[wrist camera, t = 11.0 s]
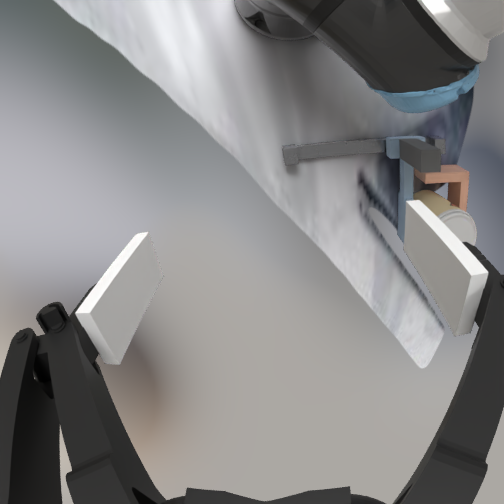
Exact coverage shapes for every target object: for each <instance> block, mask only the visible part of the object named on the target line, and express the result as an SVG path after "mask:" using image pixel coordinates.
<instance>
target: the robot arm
mask: <svg viewBox="0 0 504 504" xmlns="http://www.w3.org/2000/svg"><path fill="white" fill-rule="evenodd" d="M234 2H235V5H236V8H237V10H238V12H239V14H240V16H241V17H242V19H243V20H244V21H245V22H246V23H247V24H248V25H249V26H250V27H251V28H252V29H254V30H255V31H257V32H259V33H261V34H263V35H265V36H267V37H270V38H274V39H279V40H300V39H305V38H308V37H311V36H314V35H315V36H316V37H317V38H318V39H320V40H321V41H322V42H323V43H324V44H326V45H327V46H328V47H329V48H330V49H331V50H333V51H334V52H335V53H336V54H337V55H338V56H339V57H341V58H342V59H343V60H344V61H345V62H346V63H347V64H348V65H349V66H350V67H352V68H353V69H354V70H355V71H356V72H357V73H358V74H359V75H360V76H361V77H362V78H363V79H364V80H365V81H366V83H367V85H368V86H369V87H370V88H371V89H372V90H374V91H375V92H377V93H379V94H380V95H381V96H382V97H383V98H384V99H385V100H386V101H387V102H388V103H389V104H390V105H391V106H392V107H394V108H396V109H398V110H400V111H402V112H407V113H422V112H428V111H432V110H435V109H438V108H441V107H443V106H446V105H448V104H450V103H452V102H453V101H455V100H457V99H458V95H459V94H462V93H467V92H468V91H469V90H470V89H471V88H472V87H473V86H474V84H475V83H476V81H477V79H478V76H479V66H478V64H479V63H481V62H483V61H485V60H486V58H487V53H488V45H489V41H490V39H491V38H493V37H495V36H497V35H499V34H502V33H503V32H504V0H234ZM404 251H405V253H406V254H407V256H408V257H409V259H410V261H411V262H412V264H413V265H414V267H415V269H416V270H417V272H418V273H419V275H420V277H421V278H422V280H423V282H424V283H425V285H426V287H427V288H428V290H429V292H430V293H431V295H432V296H433V298H434V300H435V301H436V304H437V305H438V307H439V309H440V310H441V312H442V314H443V316H444V318H445V319H446V321H447V323H448V325H449V327H450V329H451V330H452V333H453V335H454V336H460V335H464V334H468V333H470V332H471V330H472V327H473V324H474V321H475V322H476V323H477V325H478V327H479V329H478V332H477V335H476V338H475V340H474V343H473V345H472V350H471V353H470V356H469V359H468V362H467V364H466V367H465V370H464V372H463V375H462V378H461V380H460V383H459V385H458V387H457V390H456V392H455V395H454V397H453V399H452V401H451V404H450V406H449V408H448V410H447V413H446V415H445V417H444V419H443V421H442V423H441V425H440V427H439V429H438V431H437V433H436V435H435V437H434V439H433V441H432V442H431V444H430V446H429V448H428V450H427V452H426V453H425V455H424V457H423V459H422V460H421V462H420V464H419V465H418V467H417V469H416V471H415V472H414V474H413V475H412V477H411V479H410V480H409V482H408V483H407V485H406V486H405V487H404V489H403V490H402V492H401V493H400V494H399V496H398V497H397V499H396V500H395V502H394V503H393V504H472V503H473V501H474V499H475V497H476V495H477V493H478V491H479V489H480V486H481V484H482V482H483V480H484V477H485V474H486V472H487V467H488V465H487V464H486V462H485V461H486V457H487V454H488V452H489V449H490V446H491V443H492V441H493V438H494V435H495V433H496V430H497V426H498V424H499V420H500V417H501V414H502V411H503V407H504V275H500V273H499V272H498V271H497V270H496V269H495V267H494V266H493V265H492V264H491V263H490V262H489V261H488V260H486V257H485V256H484V255H482V253H481V252H480V251H479V250H478V249H477V248H476V247H475V246H473V245H472V244H470V243H468V242H461V241H460V240H459V239H458V238H457V237H456V236H455V235H454V234H453V233H452V231H451V230H450V229H449V228H448V227H447V226H446V225H445V224H444V223H443V222H442V221H441V220H440V219H439V218H438V217H437V216H436V215H435V214H434V213H433V212H431V211H430V210H429V209H428V208H427V207H426V206H425V205H424V204H423V203H422V202H421V201H420V200H413V201H406V215H405V236H404ZM163 277H164V275H163V272H162V269H161V266H160V263H159V261H158V258H157V255H156V252H155V249H154V246H153V243H152V240H151V237H150V234H149V232H146V233H139V234H136V235H135V236H134V238H133V239H132V240H131V241H130V242H129V244H128V245H127V246H126V247H125V248H124V250H123V251H122V252H121V253H120V255H119V256H118V257H117V258H116V260H115V261H114V262H113V263H112V265H111V266H110V267H109V268H108V270H107V271H106V272H105V274H104V275H103V276H102V277H101V279H100V280H99V282H98V283H96V284H95V285H94V286H93V287H92V288H90V289H89V290H88V292H87V293H86V295H85V297H83V299H82V300H81V302H80V303H79V304H78V305H77V307H76V308H75V309H74V311H73V312H72V313H71V315H70V316H68V314H67V312H66V311H65V309H64V307H63V305H62V304H61V303H60V302H53V303H51V304H48V305H47V306H45V307H43V308H42V309H41V310H40V311H39V313H38V314H37V316H36V319H37V321H38V323H39V325H40V326H41V328H42V329H43V331H44V333H45V335H40V336H36V334H35V333H34V331H33V330H32V329H31V328H26V329H23V330H20V331H19V332H17V333H16V335H15V336H14V337H13V339H12V341H11V344H10V347H9V350H8V353H7V356H6V359H5V363H4V367H3V370H2V373H1V377H0V504H62V494H61V481H60V480H61V479H60V455H59V454H60V451H59V434H60V431H59V430H60V425H61V430H62V434H63V438H64V442H65V445H66V449H67V453H68V456H69V460H70V463H71V466H72V471H71V472H69V473H67V474H66V482H67V485H68V488H69V491H70V495H71V497H72V500H73V503H74V504H385V503H384V502H381V501H379V500H377V499H374V498H371V497H368V496H362V495H356V494H351V493H350V487H342V488H334V489H324V490H312V491H307V492H303V493H299V494H296V495H292V496H288V497H284V498H280V499H276V500H272V501H265V502H264V501H259V500H255V499H251V498H247V497H243V496H239V495H236V494H232V493H228V492H225V491H214V490H202V489H193V488H187V490H186V495H185V496H181V497H177V498H173V499H170V500H167V501H166V499H165V498H164V497H163V496H162V495H161V494H160V492H159V491H158V490H157V489H156V487H155V486H154V484H153V482H152V480H151V479H150V477H149V475H148V473H147V471H146V470H145V468H144V466H143V464H142V462H141V460H140V458H139V456H138V454H137V453H136V451H135V449H134V447H133V445H132V443H131V441H130V438H129V436H128V434H127V432H126V430H125V428H124V426H123V424H122V421H121V419H120V417H119V415H118V412H117V410H116V408H115V405H114V403H113V401H112V398H111V396H110V394H109V391H108V388H107V386H106V383H105V381H104V378H103V375H102V373H101V370H100V367H99V365H98V364H97V362H96V361H95V360H96V358H97V356H98V354H99V355H100V357H101V358H102V360H103V361H104V363H105V364H118V365H119V364H120V363H121V360H122V358H123V356H124V354H125V352H126V350H127V348H128V346H129V343H130V341H131V339H132V337H133V335H134V333H135V331H136V329H137V327H138V325H139V323H140V321H141V319H142V317H143V315H144V313H145V311H146V309H147V307H148V305H149V304H150V302H151V300H152V298H153V296H154V294H155V292H156V290H157V288H158V286H159V284H160V282H161V281H162V279H163ZM34 377H35V379H34Z"/></svg>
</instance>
